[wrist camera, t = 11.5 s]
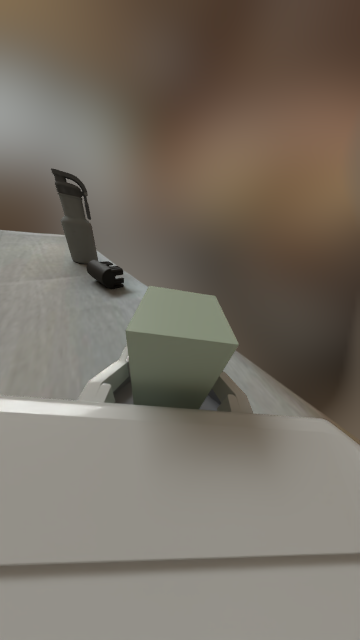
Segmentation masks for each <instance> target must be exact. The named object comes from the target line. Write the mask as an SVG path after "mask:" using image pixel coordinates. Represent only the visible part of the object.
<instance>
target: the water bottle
mask: <svg viewBox="0 0 360 640" xmlns="http://www.w3.org/2000/svg"><path fill="white" fill-rule="evenodd" d="M51 170H52V173H53V174H54V176H55V181H56V182H55V185H56V188H57V191H58V192H59V193H58V194H59V196H60V200H61V204H62V207H63V211H64V215H65V216H64V217H63V218H62V219H61V223H62V226H63V230H64V233H65V236H66V240H67V243H68V247H69V250H70V253H71V257H72V259H73V261H75V262H77V263H82V264H88V263H89V262H90V261H92V260H96V261H98V257H97V252H96V247H95V242H94V236H93V231H92V226H91V224H90V223H89V222H88V221H87V220H86V219H85V214H84V209H83V204H82V198H81V197H82V196H84V201H85V207H86V213H87V218H88V219H91V217H90V211H89V206H88V203H87V198H86V196H87V191H86V188H85V186H84V184H83V183H82V182H81V181H80V180H79V179H78V178H77V177H75V176H74V175H72V174H69V173H66V172H62V171H59V170H56V169H51ZM66 178H67V179H70V180H73V181H74V182H76V183H77V184H78V185H79V186H80V187H81V189H82V191H83V192H81V190H80V188H78V187H77V186H75V185H73V184H70V183H67V182H66Z"/></svg>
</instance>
